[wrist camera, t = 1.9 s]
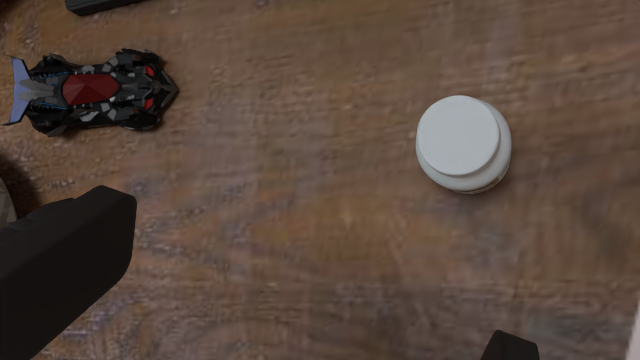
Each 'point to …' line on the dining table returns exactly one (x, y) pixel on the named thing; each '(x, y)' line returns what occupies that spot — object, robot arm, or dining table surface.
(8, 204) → the planter
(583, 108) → the dining table surface
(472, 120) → the pill bottle
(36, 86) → the toy car
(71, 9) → the phone
